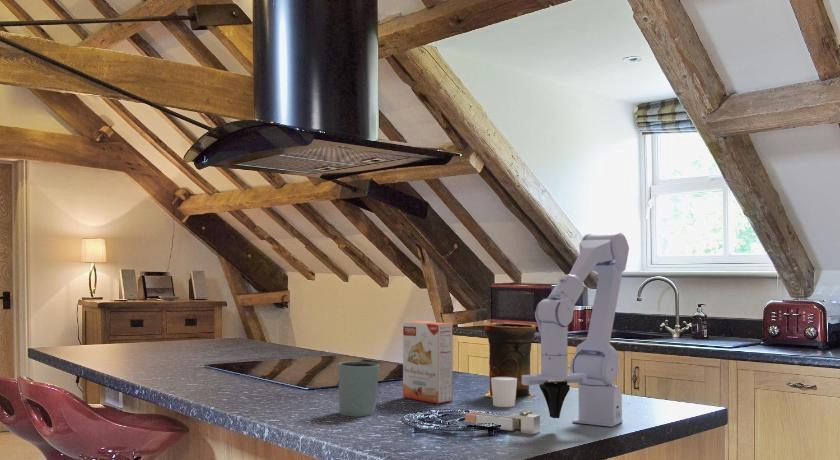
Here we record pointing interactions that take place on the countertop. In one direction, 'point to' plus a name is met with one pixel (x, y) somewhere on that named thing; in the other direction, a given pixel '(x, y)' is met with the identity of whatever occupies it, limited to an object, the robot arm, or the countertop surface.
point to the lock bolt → (520, 419)
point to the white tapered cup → (504, 391)
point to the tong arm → (516, 420)
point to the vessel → (510, 353)
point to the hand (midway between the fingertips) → (554, 417)
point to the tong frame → (509, 421)
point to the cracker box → (428, 361)
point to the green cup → (358, 388)
